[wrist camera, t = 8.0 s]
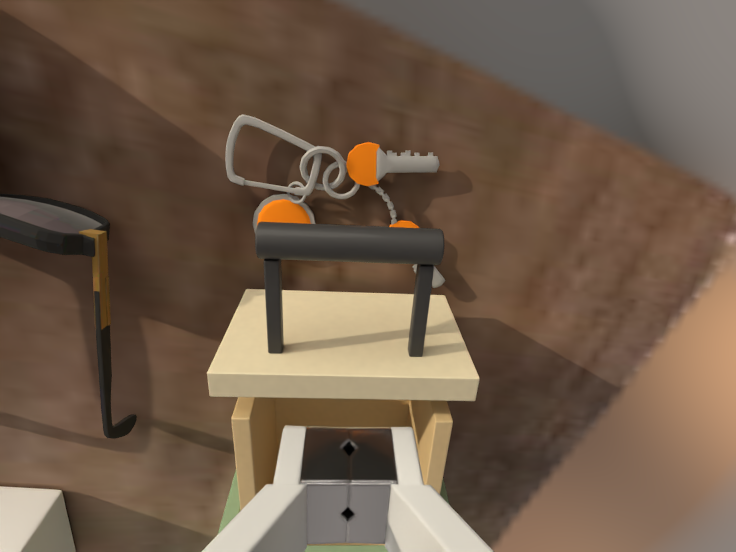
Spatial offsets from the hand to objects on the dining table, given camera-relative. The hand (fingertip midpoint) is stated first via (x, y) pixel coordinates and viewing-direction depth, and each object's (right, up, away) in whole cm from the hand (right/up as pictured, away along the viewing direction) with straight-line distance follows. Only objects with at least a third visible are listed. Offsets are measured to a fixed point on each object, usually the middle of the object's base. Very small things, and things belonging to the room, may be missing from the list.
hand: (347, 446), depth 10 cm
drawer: (-1, -1, +16) cm, 16 cm away
